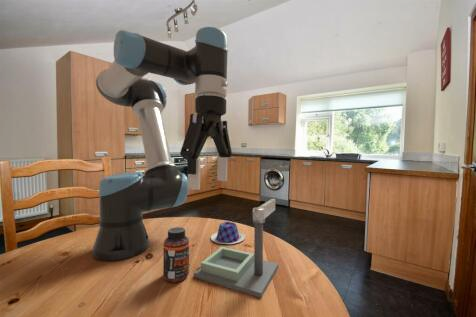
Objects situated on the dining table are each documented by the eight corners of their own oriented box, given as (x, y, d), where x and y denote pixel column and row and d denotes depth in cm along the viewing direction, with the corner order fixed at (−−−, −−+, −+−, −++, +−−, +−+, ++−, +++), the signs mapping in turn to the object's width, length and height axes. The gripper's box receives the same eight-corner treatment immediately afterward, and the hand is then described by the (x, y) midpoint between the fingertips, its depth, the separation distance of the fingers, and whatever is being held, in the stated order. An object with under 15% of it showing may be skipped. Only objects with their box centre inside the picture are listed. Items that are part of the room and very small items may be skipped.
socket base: (193, 277, 52) (193, 222, 51) (221, 254, 63) (221, 209, 63) (261, 297, 44) (261, 234, 44) (278, 267, 56) (278, 217, 56)
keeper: (262, 224, 49) (262, 210, 49) (250, 222, 50) (250, 209, 50) (278, 210, 61) (278, 199, 61) (268, 208, 62) (268, 198, 62)
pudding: (218, 231, 83) (218, 217, 83) (248, 234, 79) (248, 220, 79) (204, 243, 71) (204, 228, 71) (239, 248, 68) (239, 231, 68)
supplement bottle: (175, 286, 48) (175, 236, 48) (158, 278, 51) (157, 231, 51) (194, 274, 53) (194, 228, 53) (177, 267, 56) (177, 224, 56)
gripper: (194, 81, 39) (193, 195, 41) (243, 106, 62) (242, 179, 63) (162, 84, 42) (162, 191, 43) (220, 107, 65) (219, 177, 66)
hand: (209, 184), depth 53 cm, fingers open, 13 cm apart
